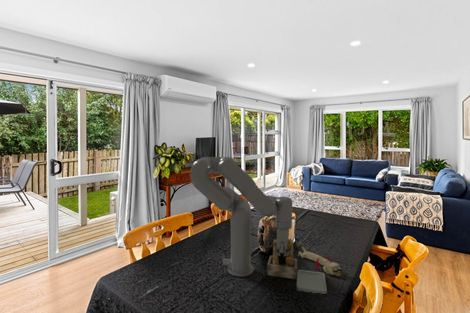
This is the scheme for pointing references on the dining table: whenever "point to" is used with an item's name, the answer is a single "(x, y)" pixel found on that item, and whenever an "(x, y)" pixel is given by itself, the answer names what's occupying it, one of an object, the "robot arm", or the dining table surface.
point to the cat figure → (321, 262)
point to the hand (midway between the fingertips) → (282, 260)
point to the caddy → (282, 269)
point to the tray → (311, 282)
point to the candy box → (287, 253)
